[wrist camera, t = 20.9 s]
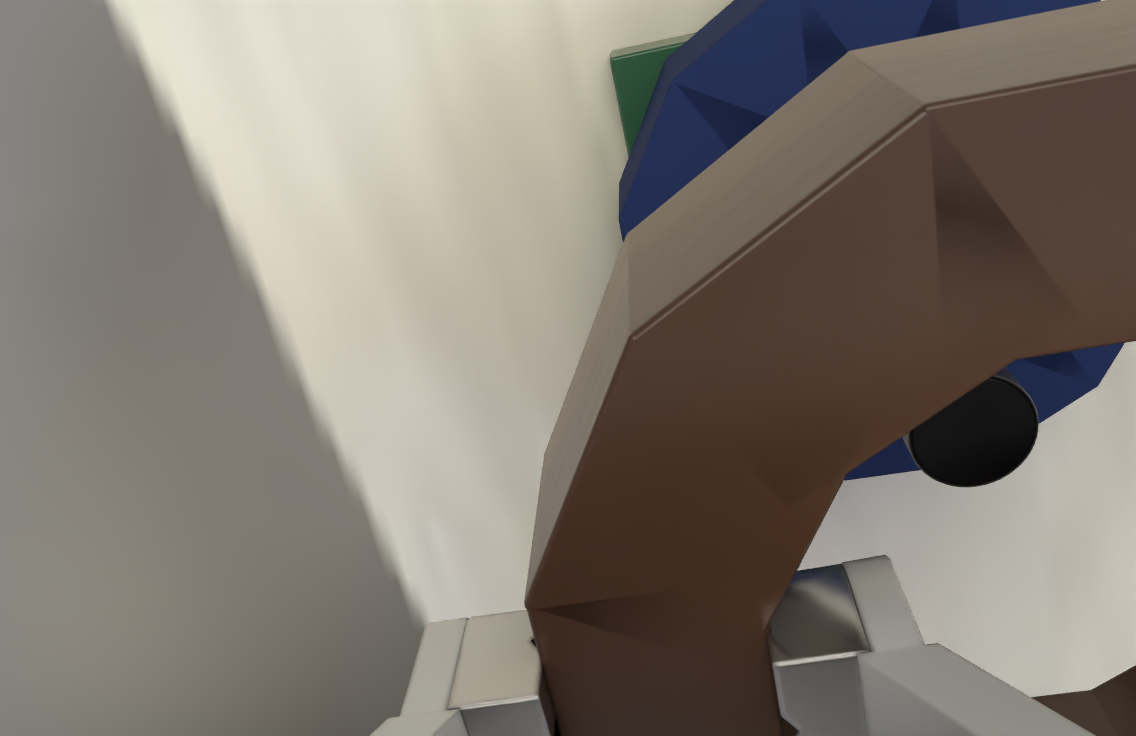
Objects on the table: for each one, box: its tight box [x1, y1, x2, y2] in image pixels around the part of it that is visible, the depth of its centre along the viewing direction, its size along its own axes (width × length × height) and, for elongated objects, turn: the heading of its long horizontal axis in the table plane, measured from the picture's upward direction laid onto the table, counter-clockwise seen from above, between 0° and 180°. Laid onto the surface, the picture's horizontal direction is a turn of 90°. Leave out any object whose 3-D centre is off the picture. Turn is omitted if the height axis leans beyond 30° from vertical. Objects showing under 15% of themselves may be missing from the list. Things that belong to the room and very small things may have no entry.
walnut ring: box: [524, 0, 1136, 736], centre depth 12 cm, size 12×12×3 cm
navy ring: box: [619, 0, 1124, 480], centre depth 24 cm, size 12×12×3 cm
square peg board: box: [610, 33, 1038, 487], centre depth 21 cm, size 9×9×13 cm
